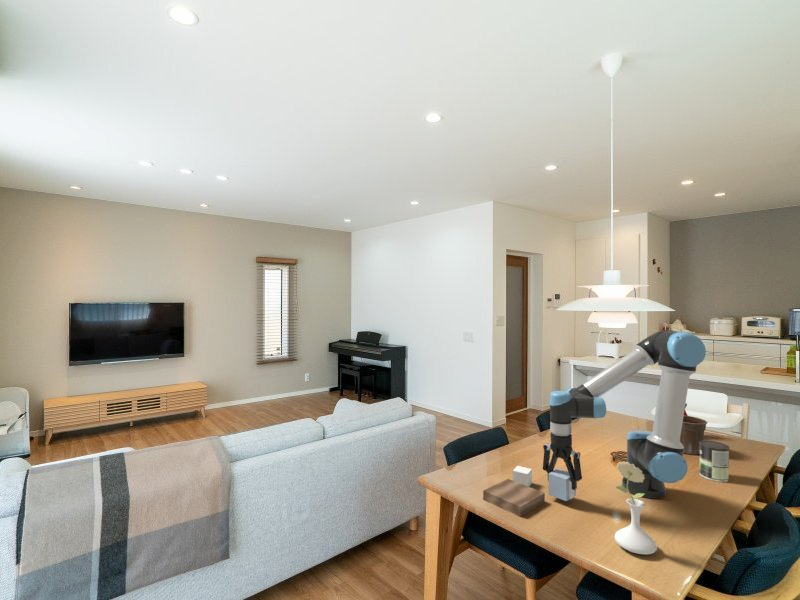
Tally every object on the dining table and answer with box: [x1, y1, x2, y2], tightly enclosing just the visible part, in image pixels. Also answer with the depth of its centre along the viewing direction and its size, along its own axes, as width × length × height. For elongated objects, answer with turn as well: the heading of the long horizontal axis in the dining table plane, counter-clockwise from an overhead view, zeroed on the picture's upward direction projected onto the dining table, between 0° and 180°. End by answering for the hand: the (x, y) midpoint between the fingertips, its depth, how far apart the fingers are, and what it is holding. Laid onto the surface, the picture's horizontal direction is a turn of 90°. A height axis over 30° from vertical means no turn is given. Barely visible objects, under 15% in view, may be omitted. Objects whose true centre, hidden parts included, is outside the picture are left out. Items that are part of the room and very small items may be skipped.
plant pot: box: [680, 415, 708, 456], centre depth 209 cm, size 16×16×16 cm
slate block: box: [547, 468, 577, 502], centre depth 155 cm, size 7×7×8 cm
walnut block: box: [482, 478, 546, 517], centre depth 155 cm, size 16×16×4 cm
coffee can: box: [698, 439, 730, 483], centre depth 177 cm, size 10×10×14 cm
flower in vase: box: [614, 461, 658, 556], centre depth 127 cm, size 13×11×25 cm
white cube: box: [512, 465, 533, 487], centre depth 169 cm, size 6×6×6 cm
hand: (562, 493), depth 155 cm, fingers closed on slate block, 7 cm apart
